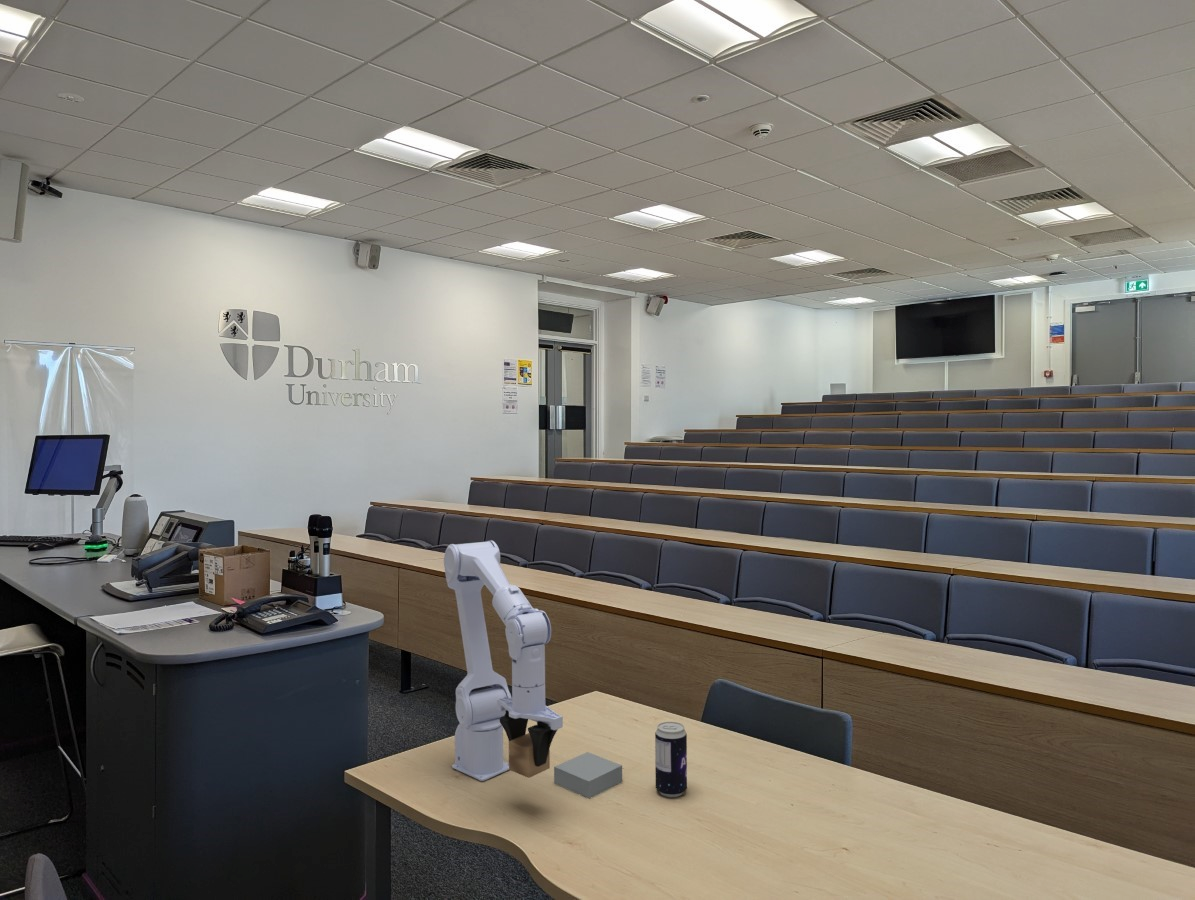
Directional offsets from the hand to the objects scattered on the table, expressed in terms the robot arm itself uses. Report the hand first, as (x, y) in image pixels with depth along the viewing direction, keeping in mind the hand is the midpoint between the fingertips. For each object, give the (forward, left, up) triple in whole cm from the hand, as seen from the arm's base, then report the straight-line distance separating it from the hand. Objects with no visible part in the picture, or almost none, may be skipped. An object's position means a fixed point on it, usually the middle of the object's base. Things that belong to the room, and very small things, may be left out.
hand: (529, 759), depth 136 cm
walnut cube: (0, 0, -2) cm, 2 cm away
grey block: (+1, +14, -9) cm, 17 cm away
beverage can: (+15, +21, -9) cm, 27 cm away
